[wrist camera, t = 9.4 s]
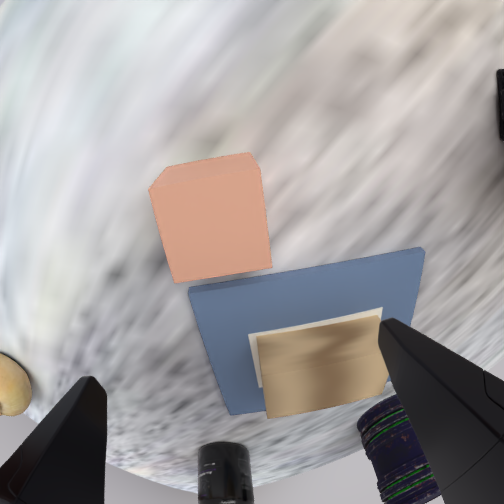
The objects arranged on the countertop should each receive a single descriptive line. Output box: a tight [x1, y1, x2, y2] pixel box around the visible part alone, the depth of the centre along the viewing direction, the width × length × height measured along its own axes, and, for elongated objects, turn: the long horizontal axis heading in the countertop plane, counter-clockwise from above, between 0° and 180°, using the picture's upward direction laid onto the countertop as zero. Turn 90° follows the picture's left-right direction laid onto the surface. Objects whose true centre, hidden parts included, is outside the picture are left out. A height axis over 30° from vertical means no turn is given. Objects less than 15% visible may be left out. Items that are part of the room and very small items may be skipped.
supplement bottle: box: [198, 442, 254, 504], centre depth 28 cm, size 7×7×12 cm
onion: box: [0, 354, 32, 416], centre depth 21 cm, size 8×8×7 cm
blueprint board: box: [188, 247, 425, 415], centre depth 24 cm, size 18×16×1 cm
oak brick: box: [256, 315, 389, 419], centre depth 22 cm, size 10×6×4 cm, turn 96°
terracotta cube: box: [148, 152, 272, 283], centre depth 16 cm, size 5×5×5 cm
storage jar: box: [357, 394, 441, 504], centre depth 27 cm, size 10×10×15 cm
